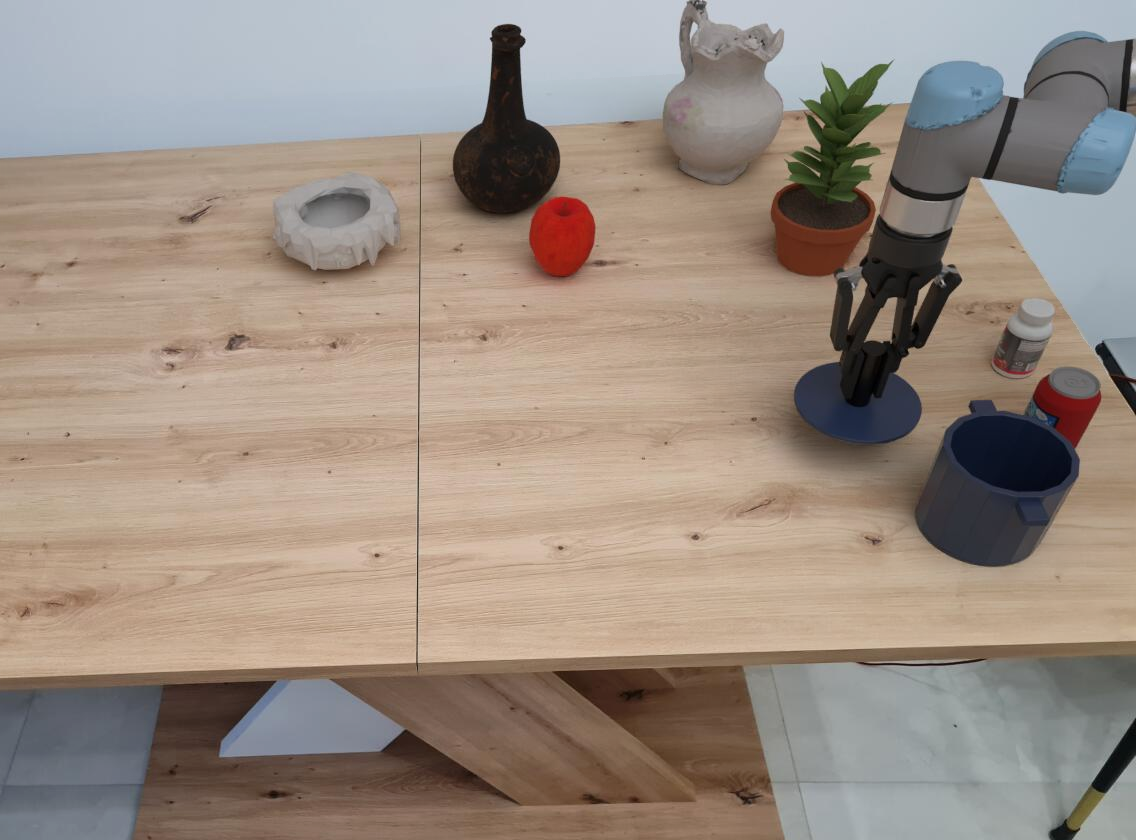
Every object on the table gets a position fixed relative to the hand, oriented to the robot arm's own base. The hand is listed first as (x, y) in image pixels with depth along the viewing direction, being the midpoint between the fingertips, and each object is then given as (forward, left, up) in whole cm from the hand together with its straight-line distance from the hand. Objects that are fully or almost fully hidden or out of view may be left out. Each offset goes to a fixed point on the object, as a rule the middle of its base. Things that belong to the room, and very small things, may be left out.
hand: (860, 390), depth 127 cm
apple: (+34, -40, -9) cm, 53 cm away
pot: (-12, +14, -9) cm, 20 cm away
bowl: (+69, -47, -9) cm, 84 cm away
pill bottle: (-25, -14, -9) cm, 30 cm away
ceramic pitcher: (+7, -71, -9) cm, 72 cm away
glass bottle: (+42, -62, -9) cm, 75 cm away
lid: (0, 0, -2) cm, 2 cm away
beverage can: (-23, +3, -9) cm, 24 cm away
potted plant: (-4, -41, -9) cm, 42 cm away
